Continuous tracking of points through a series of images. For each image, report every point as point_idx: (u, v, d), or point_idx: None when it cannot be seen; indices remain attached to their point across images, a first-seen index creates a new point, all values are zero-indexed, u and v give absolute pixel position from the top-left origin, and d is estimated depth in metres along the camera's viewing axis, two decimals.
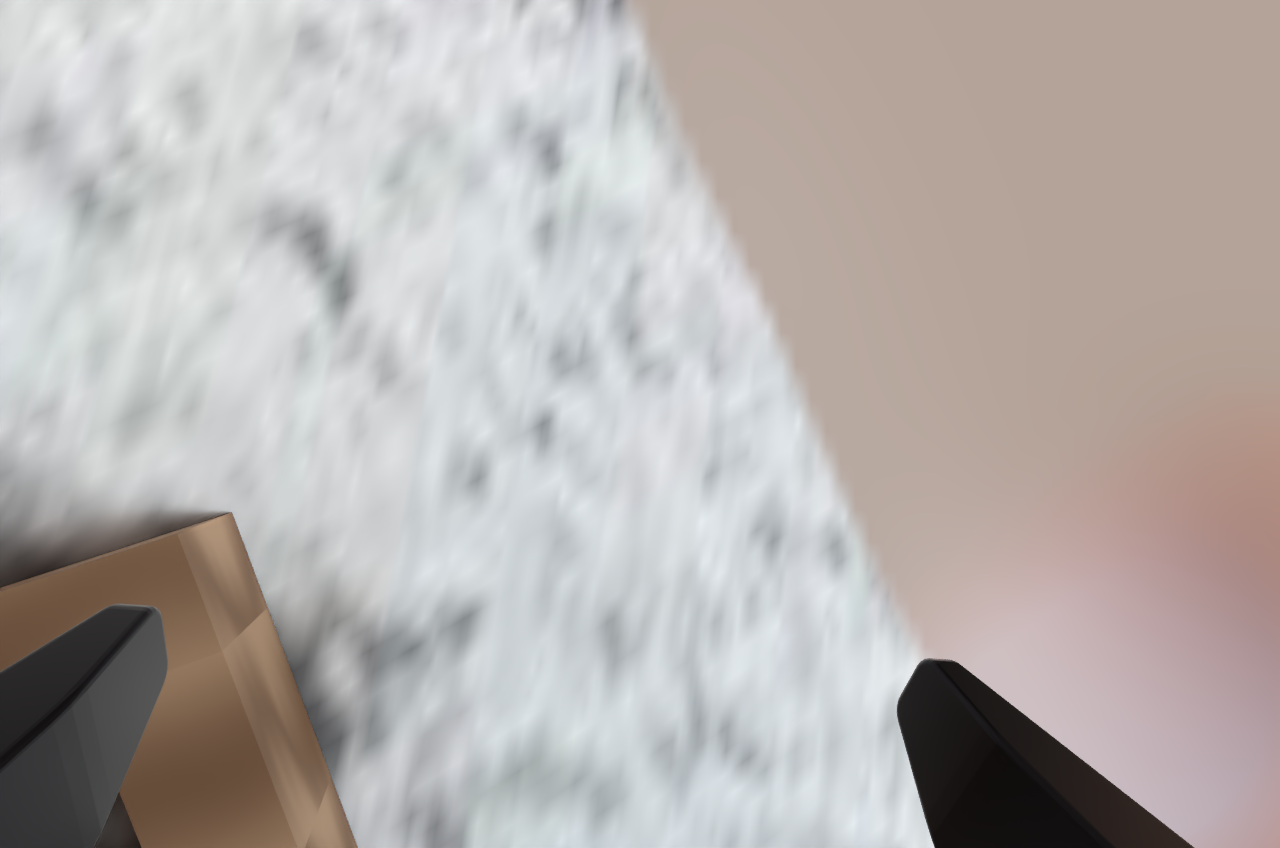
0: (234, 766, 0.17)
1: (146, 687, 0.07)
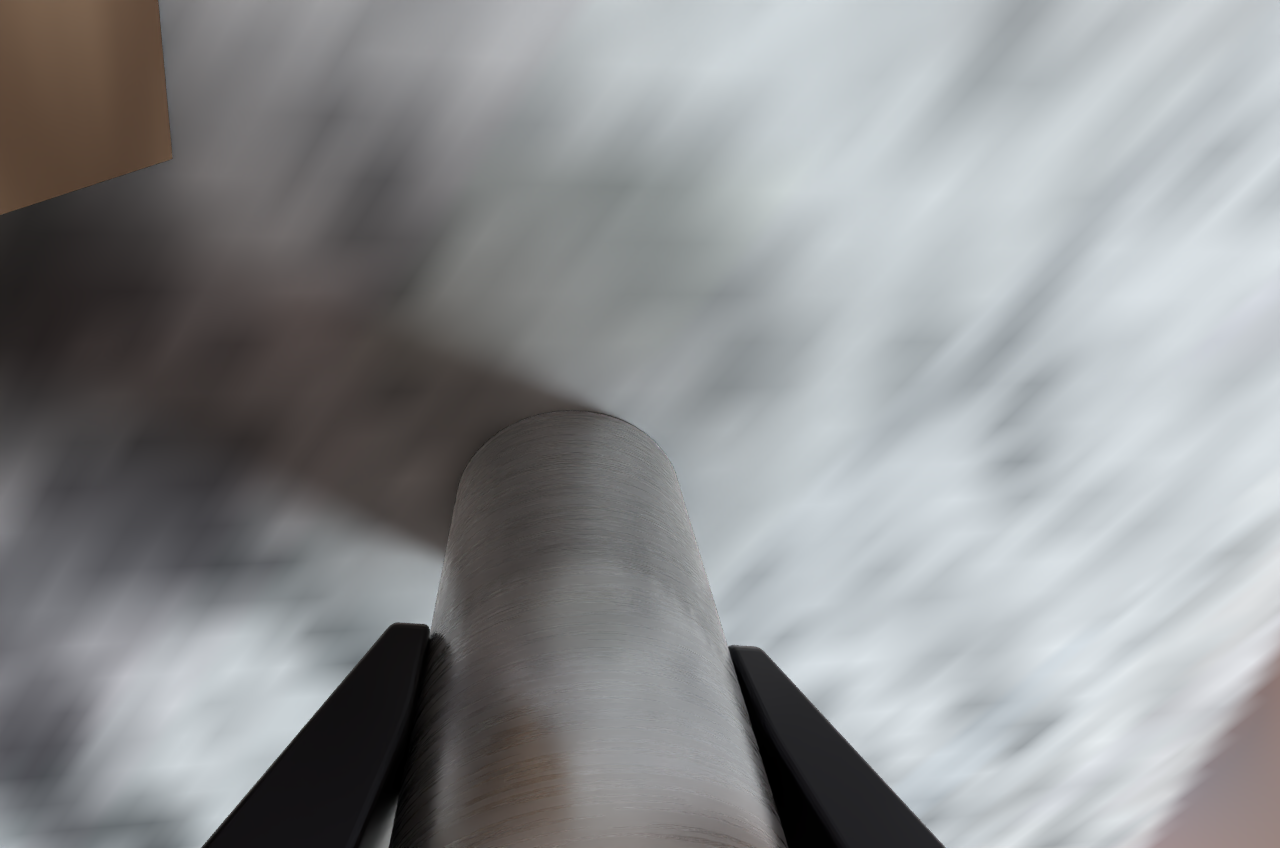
0: None
1: None
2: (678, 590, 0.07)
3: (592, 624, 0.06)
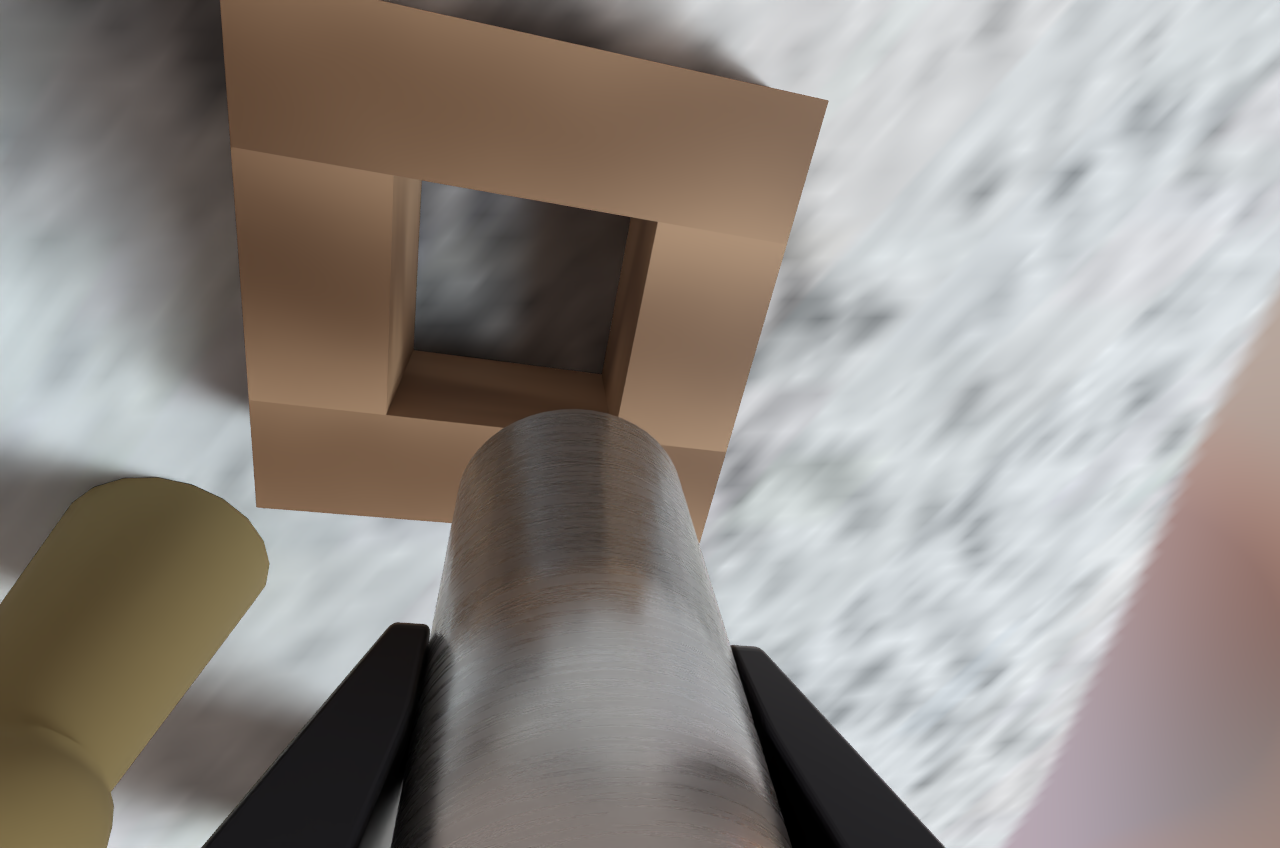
0: (729, 352, 0.17)
1: None
2: (679, 588, 0.07)
3: (594, 624, 0.06)
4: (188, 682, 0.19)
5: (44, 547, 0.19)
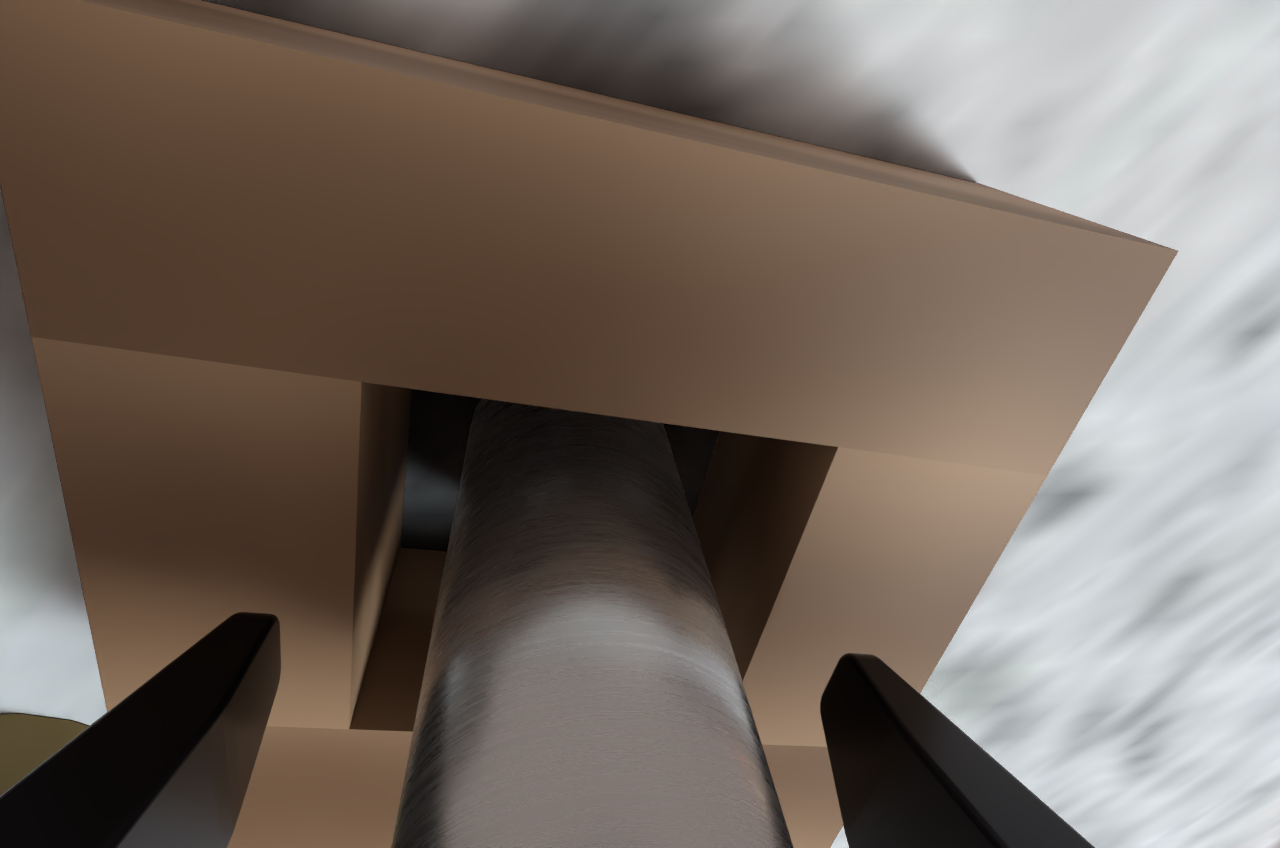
0: (920, 625, 0.10)
1: (267, 692, 0.07)
2: (654, 482, 0.09)
3: (584, 497, 0.08)
4: None
5: None
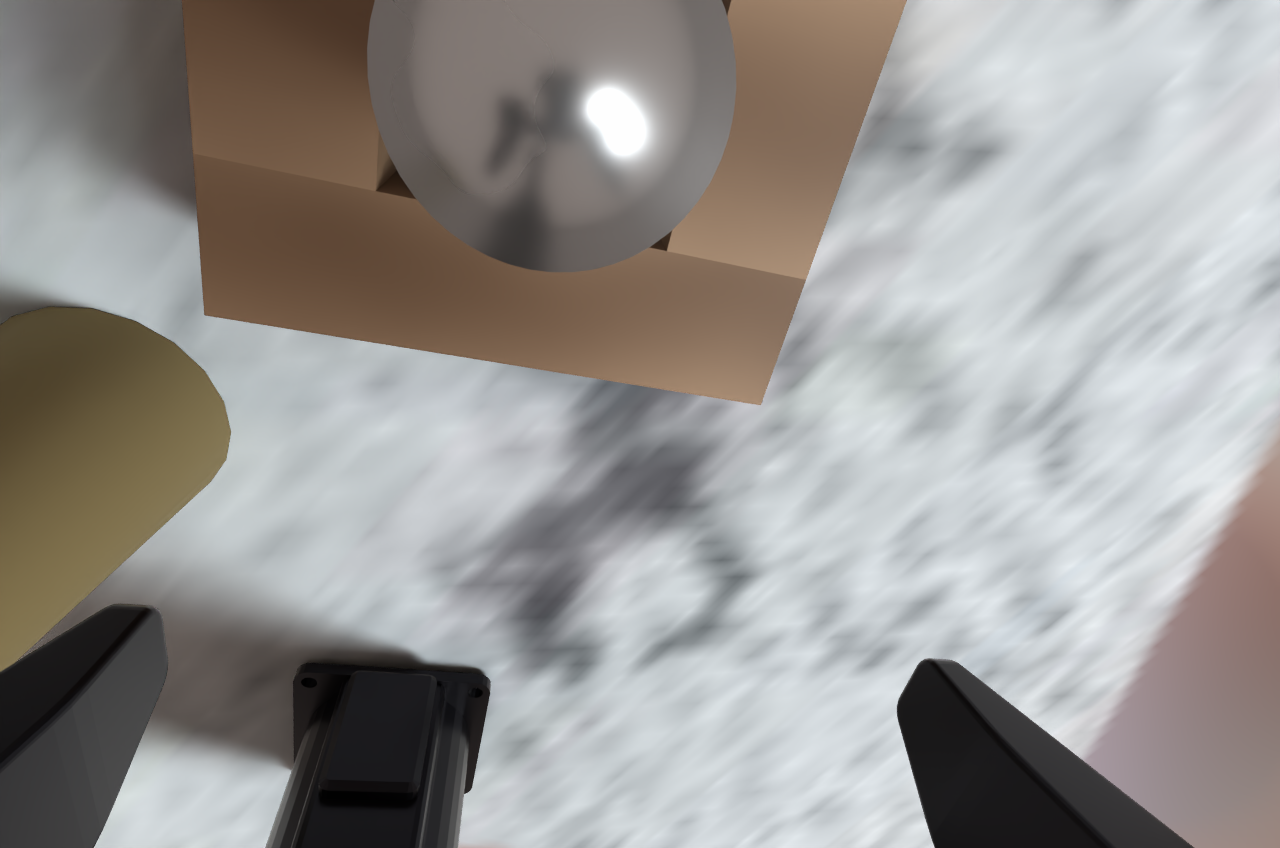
0: (825, 132, 0.13)
1: (146, 687, 0.07)
2: None
3: None
4: (118, 550, 0.15)
5: None
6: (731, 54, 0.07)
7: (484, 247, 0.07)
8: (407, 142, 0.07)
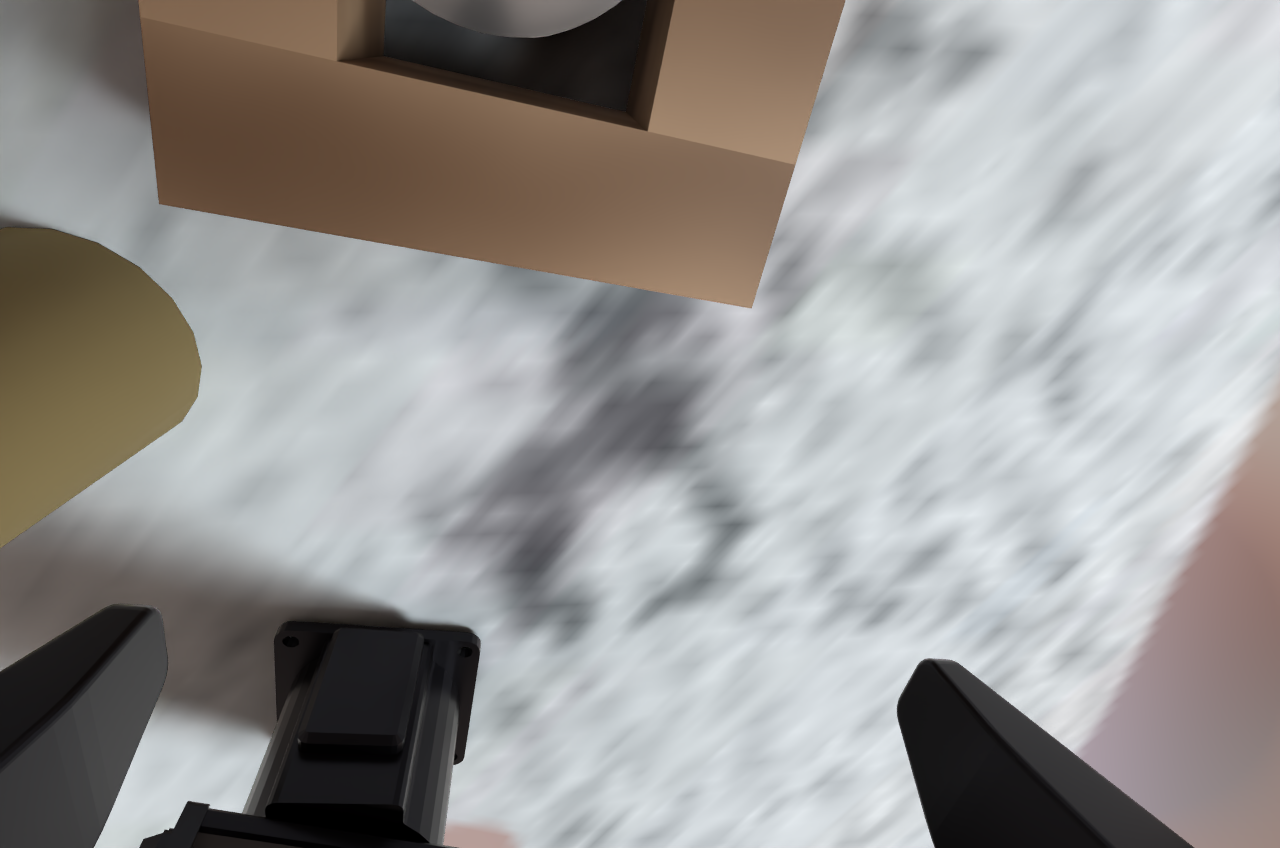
0: None
1: (146, 687, 0.07)
2: None
3: None
4: (76, 470, 0.14)
5: None
6: None
7: (429, 3, 0.07)
8: None
